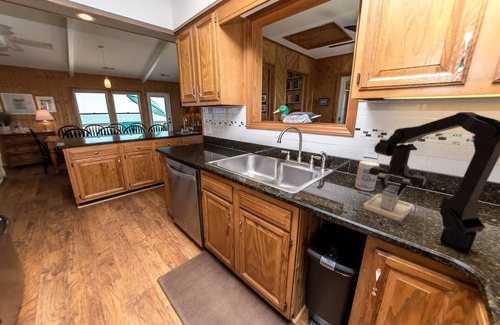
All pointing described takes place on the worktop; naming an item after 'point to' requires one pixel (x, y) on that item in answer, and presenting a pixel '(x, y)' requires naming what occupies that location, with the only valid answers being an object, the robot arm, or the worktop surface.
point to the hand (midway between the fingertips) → (391, 193)
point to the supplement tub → (366, 176)
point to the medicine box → (390, 197)
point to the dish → (396, 214)
